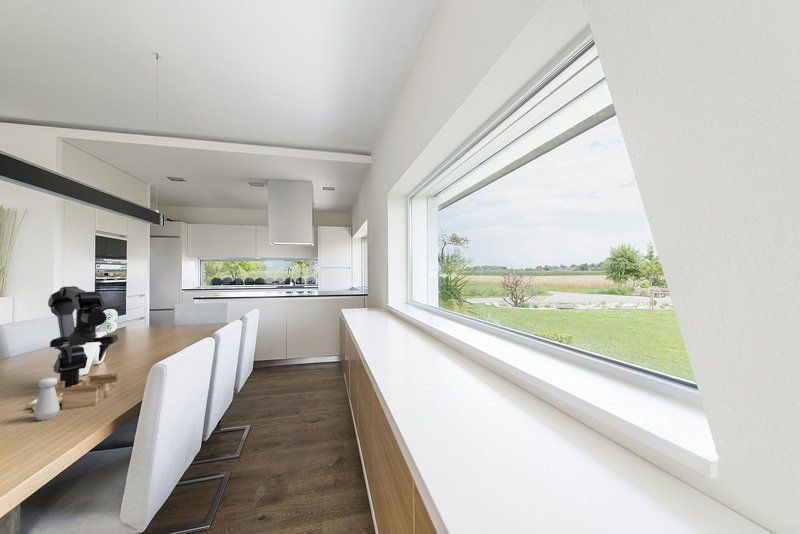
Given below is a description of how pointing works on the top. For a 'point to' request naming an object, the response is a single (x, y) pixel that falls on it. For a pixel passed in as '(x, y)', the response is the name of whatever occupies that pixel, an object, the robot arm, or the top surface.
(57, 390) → the lid
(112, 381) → the block
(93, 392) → the toolbox
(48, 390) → the salt shaker
